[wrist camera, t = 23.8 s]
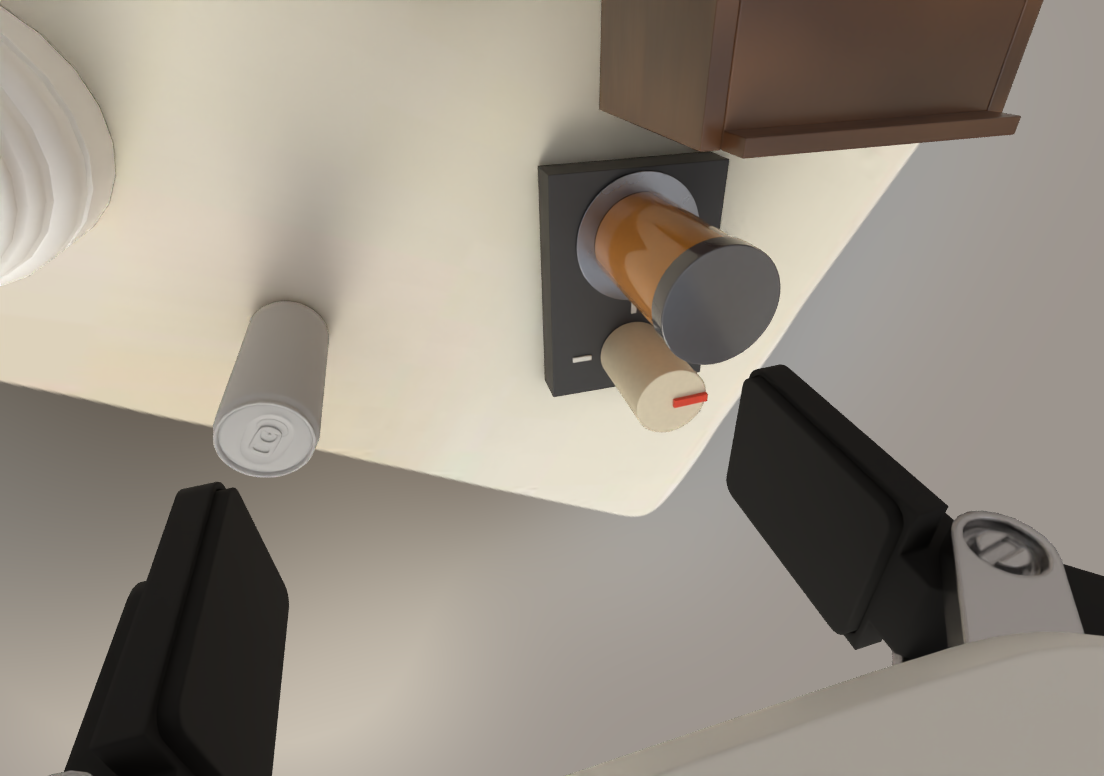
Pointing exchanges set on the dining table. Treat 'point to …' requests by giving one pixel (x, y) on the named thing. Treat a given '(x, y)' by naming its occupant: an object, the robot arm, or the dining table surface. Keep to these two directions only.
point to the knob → (652, 378)
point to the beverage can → (274, 393)
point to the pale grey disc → (605, 202)
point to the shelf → (812, 71)
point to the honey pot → (46, 153)
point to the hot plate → (568, 299)
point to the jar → (688, 277)
